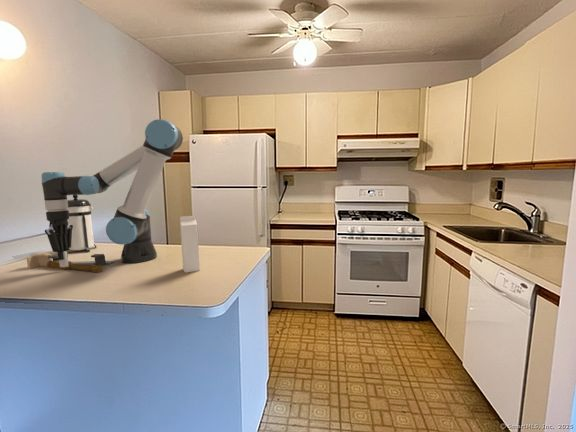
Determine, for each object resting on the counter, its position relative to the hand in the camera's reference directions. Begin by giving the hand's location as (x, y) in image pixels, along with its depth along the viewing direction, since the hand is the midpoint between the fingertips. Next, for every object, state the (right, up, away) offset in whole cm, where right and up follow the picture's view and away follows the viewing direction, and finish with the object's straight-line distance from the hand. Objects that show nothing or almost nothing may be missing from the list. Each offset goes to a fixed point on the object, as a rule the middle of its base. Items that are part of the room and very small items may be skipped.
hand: (64, 266), depth 130 cm
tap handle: (+2, -2, +2) cm, 4 cm away
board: (-2, -1, +8) cm, 8 cm away
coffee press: (-18, +2, +36) cm, 40 cm away
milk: (+54, -1, -3) cm, 54 cm away
